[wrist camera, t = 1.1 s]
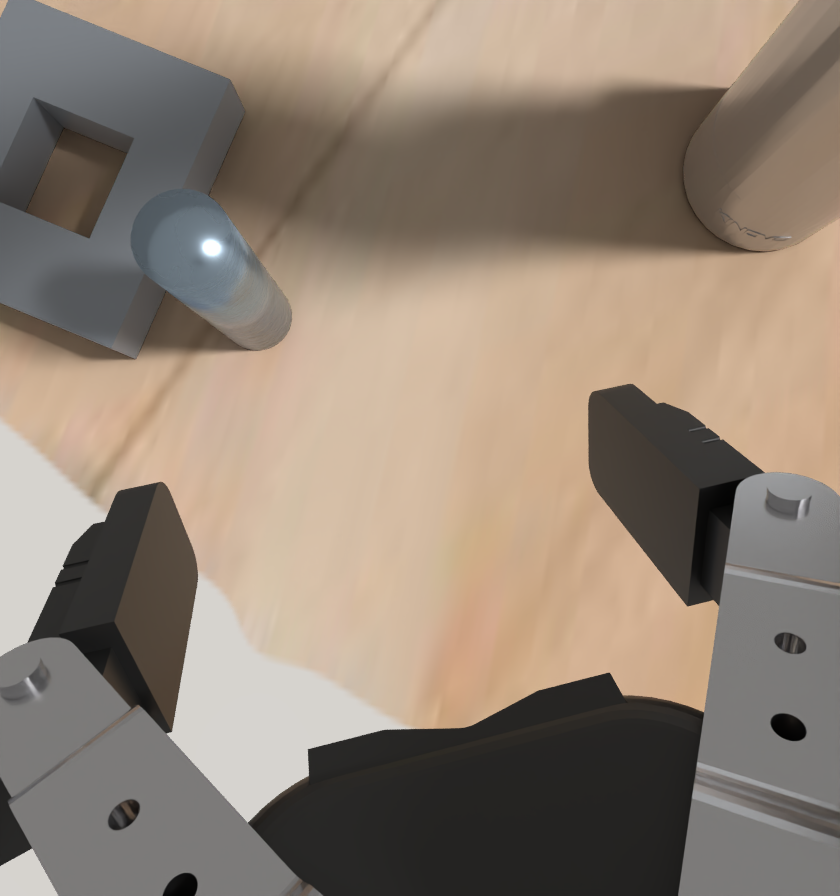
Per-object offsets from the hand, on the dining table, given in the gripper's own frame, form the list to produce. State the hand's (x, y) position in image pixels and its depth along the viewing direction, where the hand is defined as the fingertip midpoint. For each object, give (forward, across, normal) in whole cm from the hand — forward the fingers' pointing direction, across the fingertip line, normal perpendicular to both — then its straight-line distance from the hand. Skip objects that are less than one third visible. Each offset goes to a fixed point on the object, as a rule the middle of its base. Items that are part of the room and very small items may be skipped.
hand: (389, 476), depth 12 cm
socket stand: (+33, +13, -3) cm, 35 cm away
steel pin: (+27, +5, +4) cm, 28 cm away
